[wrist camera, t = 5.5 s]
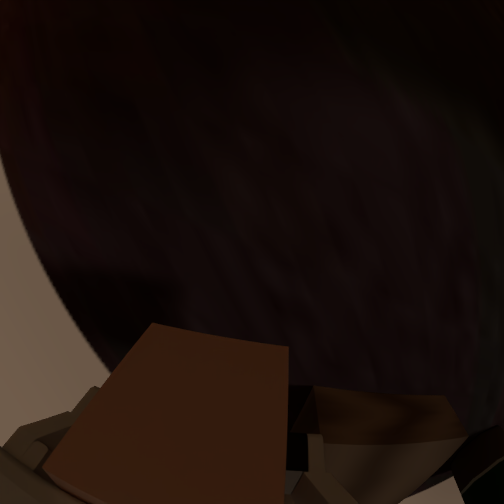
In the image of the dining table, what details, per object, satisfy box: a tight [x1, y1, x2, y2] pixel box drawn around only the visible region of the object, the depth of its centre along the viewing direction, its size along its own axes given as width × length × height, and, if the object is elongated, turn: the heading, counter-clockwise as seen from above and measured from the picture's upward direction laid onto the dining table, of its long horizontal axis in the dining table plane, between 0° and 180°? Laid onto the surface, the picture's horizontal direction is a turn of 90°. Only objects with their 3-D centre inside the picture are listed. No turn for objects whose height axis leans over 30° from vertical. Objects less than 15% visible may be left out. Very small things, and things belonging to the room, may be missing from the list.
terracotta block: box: [42, 323, 288, 504], centre depth 7 cm, size 5×5×7 cm
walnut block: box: [284, 386, 469, 504], centre depth 15 cm, size 11×11×5 cm
